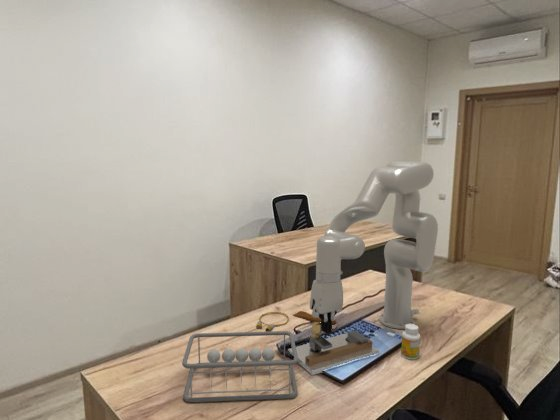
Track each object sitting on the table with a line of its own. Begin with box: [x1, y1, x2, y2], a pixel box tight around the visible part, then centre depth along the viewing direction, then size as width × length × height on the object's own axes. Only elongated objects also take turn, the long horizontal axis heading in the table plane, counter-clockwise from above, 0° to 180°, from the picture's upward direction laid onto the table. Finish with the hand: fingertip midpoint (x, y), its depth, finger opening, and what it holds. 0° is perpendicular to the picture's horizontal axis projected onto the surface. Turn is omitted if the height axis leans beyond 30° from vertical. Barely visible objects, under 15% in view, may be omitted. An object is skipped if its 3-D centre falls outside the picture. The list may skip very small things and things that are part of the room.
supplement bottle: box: [400, 323, 421, 360], centre depth 126 cm, size 5×5×10 cm
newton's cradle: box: [181, 330, 299, 403], centre depth 111 cm, size 30×10×18 cm
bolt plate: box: [287, 330, 380, 376], centre depth 127 cm, size 25×14×4 cm, turn 119°
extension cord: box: [255, 311, 290, 332], centre depth 150 cm, size 12×16×2 cm
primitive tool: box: [292, 310, 338, 325], centre depth 151 cm, size 19×6×4 cm, turn 47°
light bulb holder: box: [309, 322, 332, 351], centre depth 124 cm, size 3×8×8 cm, turn 29°
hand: (326, 331), depth 127 cm, fingers closed
